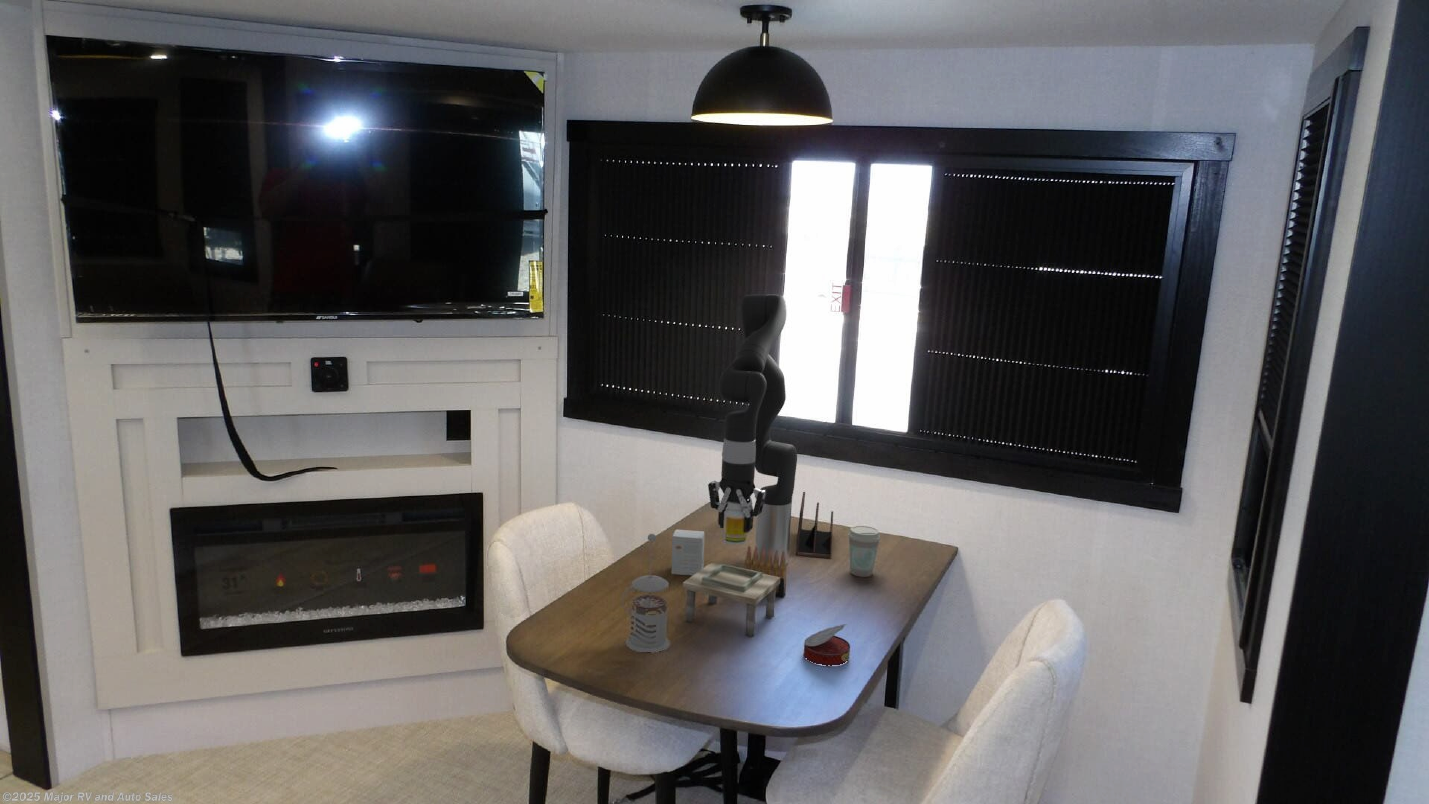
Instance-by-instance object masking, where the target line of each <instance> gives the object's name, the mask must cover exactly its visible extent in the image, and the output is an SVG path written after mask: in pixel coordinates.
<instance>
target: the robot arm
mask: <svg viewBox="0 0 1429 804" xmlns="http://www.w3.org/2000/svg"><path fill="white" fill-rule="evenodd" d="M739 311H740V322H741V329H742V334H743V339H744V340H743V341H742V343H741V344H740V345H739V347H738V350H737V351H736V352H737V353H736V355H735V359H734V360H733V361H732V362H731V363H730V364H729V365H728V366H727V367H726V368H725V370H724V371H723V372H722V373H721V375H720V377H719V380H718V386H717V389H718V394H719V395H720V397H721V399H723V400H724V401H726V402H734V403H747V404H748V406H747V408H745V409H743V410H737V411H731V412H729V413H727V414H726V415H725V418H724V433H723V434H724V435H723V436H724V437H723V445H722V452H721V457H722V458H721V479H720V481H716V480H713V481H710V482H709V483H708V484H707V488H708V496H709V503H710V507H711V508H712V509H714V510H716V511H718V519H717V523H718V525H719V528H721V529H723V526H724V512H725V510H726V509H728V501H735V502H738V503H741V507H742V508H743V509H744V513H745V516H746V517H745V520H744V532H745V533H746V534H748V533H750V532H751V530H753V527H754V517H756V524H755V525H756V526H755V539H754V540H755V544H754V548H755V547H757V549H758V562H759V563H760V555H761V551H762V548H764V550H765V564H766V563H767V555H768V551H769V549H771V552H772V568H773V563H774V555H775V552H776V550H778V554H779V567H780V562H781V556H782V552H783V551H784V552H785V556H786V565H787V564H788V563H789V551H790V538H791V537H790V535H791V523H792V522H791V521H792V520H791V519H792V507H793V505H792V502H793V494H794V490H795V482H796V481H795V480H796V472H797V463H798V452H797V448H796V446H794V445H793V444H789V443H785V442H779V441H772V439H771V427H772V425H773V423H774V422H775V419H776V418H777V417H778V415H779V413H780V412H781V410H782V409H783V407H784V405H785V402H786V399H787V396H786V395H787V394H786V385H785V384H786V383H785V375H784V372H783V371H782V369H781V368H780V366H779V365H778V363H777V362H776V361H775V360H774V358H773V357H772V356H771V355H770V351H771V350H772V348H773V346H774V345H775V343H776V342H777V340H778V338H779V336H780V335H781V333H782V331H783V329H784V327H785V325H786V320H787V305H786V301H785V298H784V297H783V295H780V294H772V293H769V294H768V293H767V294H765V293H764V294H745V295H744V296H743V297H742V298H741V301H740V310H739ZM755 471H756V472H757V473H758V474H761V475H764V476H769V477H775V478H777V482H776V484H771V485H766V486H763V487H761V488H757V487H756V485H755V482H754V481H755ZM720 489H721V490H720ZM719 491H722V493H723V495H722V498H721V500H720V493H719ZM753 494H754V499H755V503H754V506H753V501H752V497H751V496H752V495H753Z"/></svg>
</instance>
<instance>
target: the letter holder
mask: <svg viewBox="0 0 1429 804" xmlns="http://www.w3.org/2000/svg"><path fill="white" fill-rule="evenodd" d="M805 497H806V491H803V492H802V497H801V504H800V510H799V517H798V518H799V519H798V525H797V527H798V528H797V534H796V535H797V537H796V547H795V556H800V557H802V556H803V557H810V556H811V558H824V559H831V558H832V552H833V551H832V549H833V548H832V547H833V528H834V527H833V525H834V511H830V513H831V514H830V527H829V528H830V530H829V531H822V530H818V521H819V510H820V509H819V507H820V502H817V503H816V507H815V508H816V509H815V518H814V525H813V526H812V528H811V530H810V529H803V519H804V517H803V516H804V509H805Z"/></svg>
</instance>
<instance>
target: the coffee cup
mask: <svg viewBox="0 0 1429 804" xmlns="http://www.w3.org/2000/svg"><path fill="white" fill-rule="evenodd" d="M847 537H848V544H849V545H848V549H849V550H848V551H849V570H850V574H852V575H853V576H855V577H859V578H861V577H862V578H865V577H866V578H867V577H871V576H872V575H873V573H874V572H873V571H874V567H875V563H876V557H877V552H878V547H879V543H880V542H879V541H881V535H880V531H879V530H878V529H877V528H876V527H872V526H870V525H869V526H868V525H854V526H852V527H850V530H849V532H848V534H847Z"/></svg>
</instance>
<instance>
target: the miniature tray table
mask: <svg viewBox="0 0 1429 804" xmlns="http://www.w3.org/2000/svg"><path fill="white" fill-rule="evenodd" d="M762 573H763V572H759V570H758V571H753V570H752V569H751V570H749V569H745V567H740V566H739V567H738V566H734V565H729V564H725V563H714V562H710V563H709V564H707V565H706V566H704V567H703V569H702V570H700V571H699V572H697V573H696V574H694V575H691V576H690V577H689V578H687V579H686V580H684V581H683V582H682V589H683V590H686V607H685V622H687V623H694V622H695V615H696V613H695V612H696V593H700V594H703V595H708V599H707V601H708V604H710V605H717V600H718V599H717V598H721V599H725V600H729V601H734V602H737V603H743V604H746V612H745V628H744V629H745V630H744V631H745V632H744V636H745V637H746V638H753V637H754V636H755V626H756V625H755V624H756V623H755V622H756V621H755V620H756V605H757V604H758V603H760V602H761V601H762V600H763V599H764V598H765V597H766V603H765V617H766V618H768V619H773V618H775V607H776V606H775V605H776V604H775V603H776V597H775V592H776V587H777V586H778V585H779V584H780V577H776V576H771V575H767V574H762ZM766 595H767V596H766Z"/></svg>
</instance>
